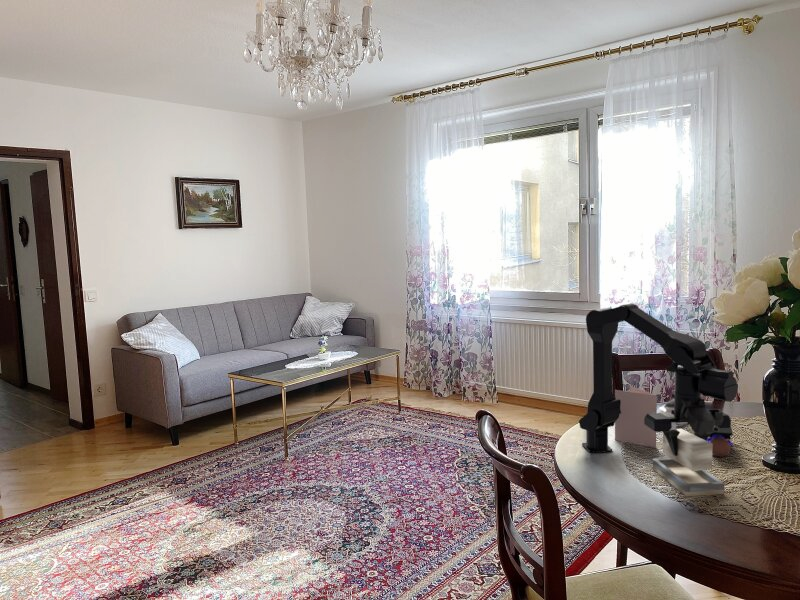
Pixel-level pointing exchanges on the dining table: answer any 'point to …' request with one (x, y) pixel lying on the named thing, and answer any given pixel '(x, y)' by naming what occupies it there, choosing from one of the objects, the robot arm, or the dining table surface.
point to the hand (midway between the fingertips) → (686, 454)
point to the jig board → (688, 478)
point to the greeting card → (635, 417)
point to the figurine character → (721, 441)
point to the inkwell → (668, 409)
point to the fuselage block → (690, 451)
